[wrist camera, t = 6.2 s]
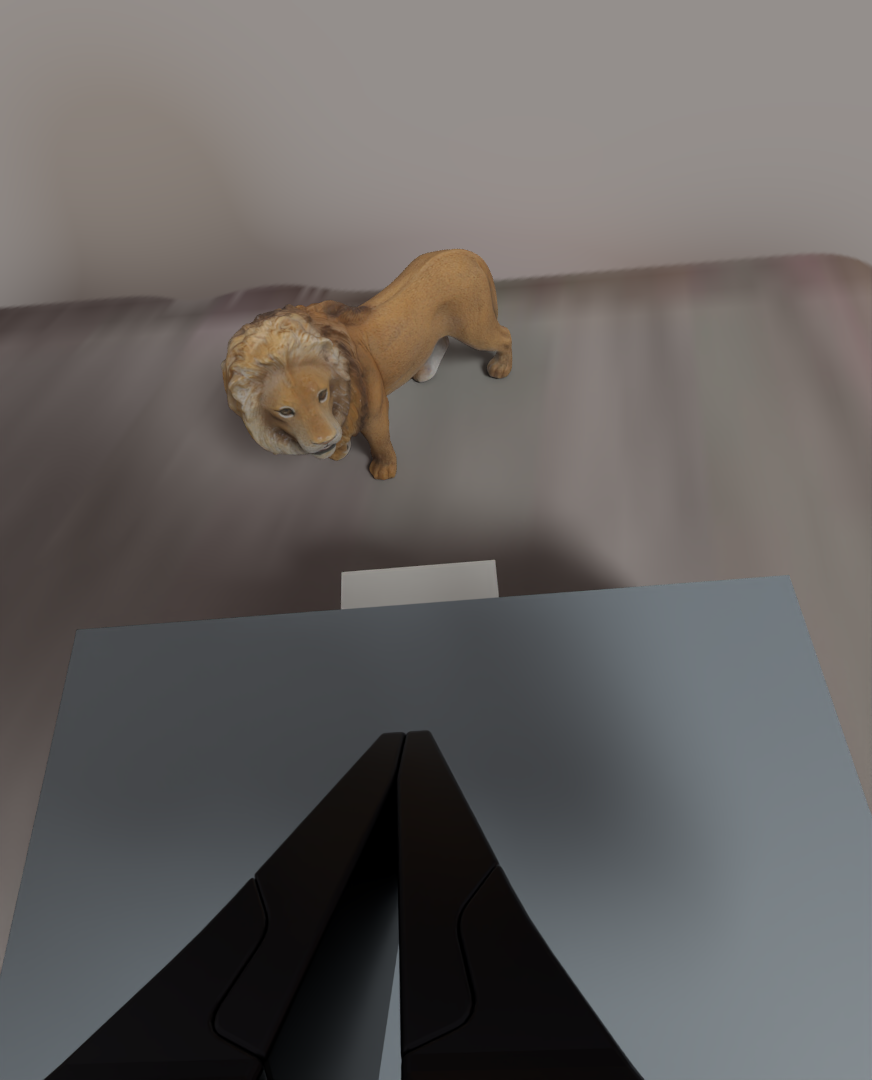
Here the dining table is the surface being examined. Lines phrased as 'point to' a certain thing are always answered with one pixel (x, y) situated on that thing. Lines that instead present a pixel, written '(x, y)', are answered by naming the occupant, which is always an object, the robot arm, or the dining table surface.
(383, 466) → the lion figurine
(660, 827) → the lid
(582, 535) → the dining table surface
